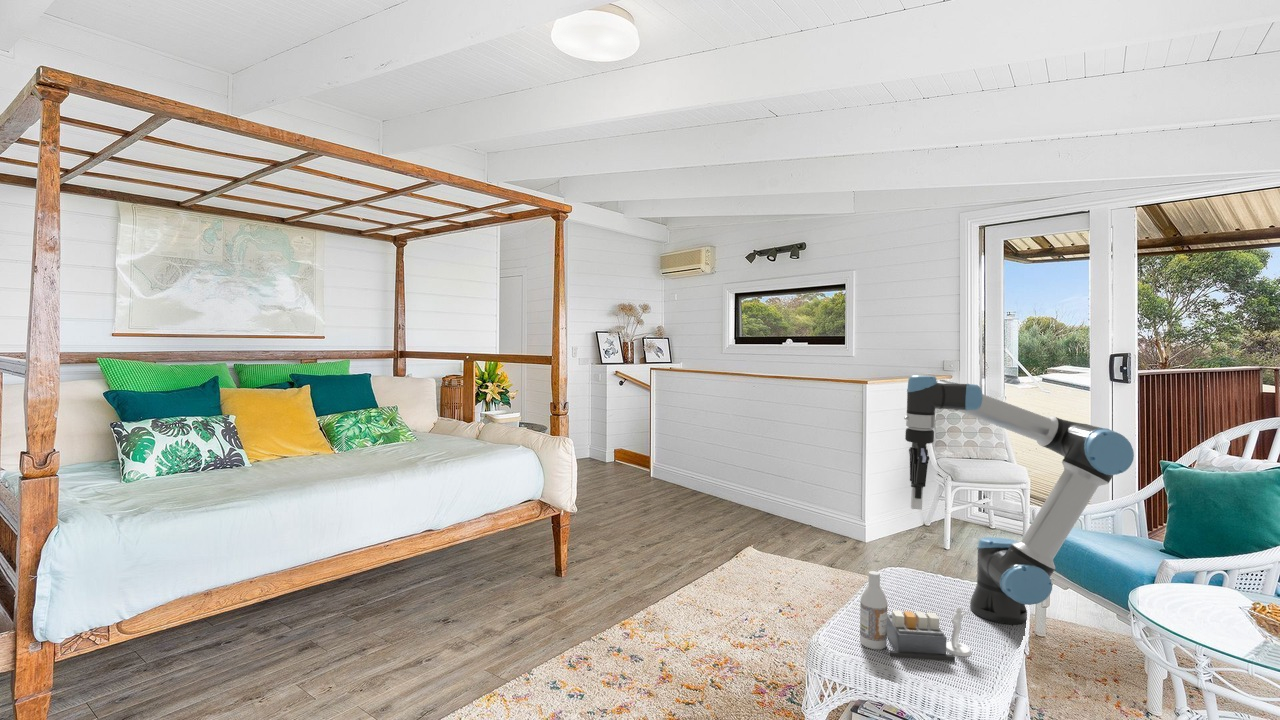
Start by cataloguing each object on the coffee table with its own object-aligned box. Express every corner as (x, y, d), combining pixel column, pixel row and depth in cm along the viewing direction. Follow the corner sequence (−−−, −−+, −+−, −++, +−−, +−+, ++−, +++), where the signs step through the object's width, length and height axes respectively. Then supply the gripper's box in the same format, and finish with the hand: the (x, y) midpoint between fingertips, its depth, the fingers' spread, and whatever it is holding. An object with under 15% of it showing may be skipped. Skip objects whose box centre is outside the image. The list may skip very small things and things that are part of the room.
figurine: (964, 659, 161) (965, 614, 160) (937, 648, 166) (938, 605, 166) (976, 651, 165) (978, 607, 164) (950, 640, 171) (951, 598, 170)
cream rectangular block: (934, 623, 168) (934, 612, 168) (939, 629, 164) (939, 618, 164) (926, 623, 168) (926, 612, 168) (930, 629, 165) (930, 618, 164)
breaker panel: (930, 637, 172) (930, 614, 172) (945, 659, 160) (946, 635, 160) (886, 634, 174) (886, 611, 173) (898, 656, 162) (898, 632, 162)
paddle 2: (911, 622, 169) (911, 611, 168) (915, 628, 165) (915, 617, 165) (903, 621, 169) (903, 611, 169) (907, 627, 165) (907, 616, 165)
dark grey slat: (953, 659, 161) (953, 654, 161) (954, 661, 159) (954, 656, 159) (889, 654, 163) (889, 650, 163) (891, 657, 161) (891, 652, 161)
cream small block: (900, 621, 169) (900, 610, 169) (904, 627, 165) (904, 616, 165) (892, 620, 169) (892, 610, 169) (895, 626, 166) (895, 616, 166)
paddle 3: (923, 622, 168) (923, 612, 168) (927, 628, 165) (927, 617, 165) (914, 622, 168) (914, 611, 168) (918, 628, 165) (919, 617, 165)
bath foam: (876, 652, 164) (877, 579, 163) (854, 642, 169) (855, 571, 169) (891, 645, 167) (893, 574, 167) (870, 635, 173) (871, 566, 172)
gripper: (901, 424, 184) (897, 501, 185) (911, 431, 171) (907, 513, 172) (927, 426, 183) (924, 503, 183) (940, 432, 170) (936, 515, 171)
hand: (916, 508), depth 178 cm, fingers closed
